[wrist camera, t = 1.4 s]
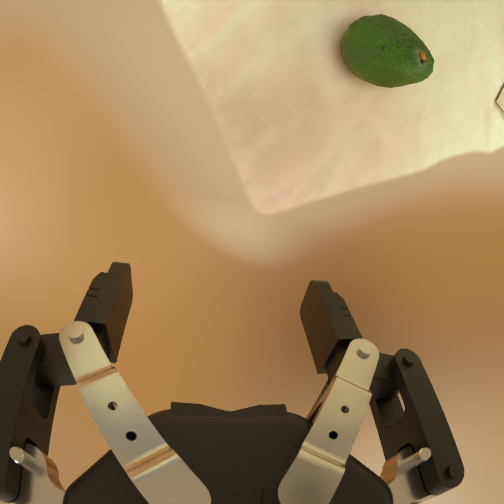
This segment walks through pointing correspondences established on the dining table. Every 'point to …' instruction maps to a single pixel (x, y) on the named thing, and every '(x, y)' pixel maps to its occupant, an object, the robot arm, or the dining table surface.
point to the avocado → (385, 52)
